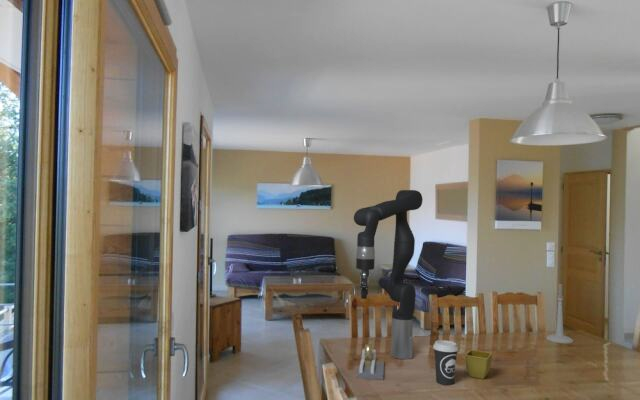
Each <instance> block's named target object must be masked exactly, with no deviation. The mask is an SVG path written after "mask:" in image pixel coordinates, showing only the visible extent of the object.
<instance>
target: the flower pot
mask: <svg viewBox="0 0 640 400" xmlns="http://www.w3.org/2000/svg"><path fill="white" fill-rule="evenodd" d="M464 357H465V358H464V361H465V365H466V366H465V367H466V370H467V372H468V374H469V376H470V377H472V378H476V379H480V380H481V379H482V380H483V379H485V378H486V377H487V375H488V373H490V372H489V371H490V369H491V366H492V365H491V364H492V359H493V353H492V352H486V351H481V350H475V349H470V350H469V351H468V352H466V354H465V355H464Z"/></svg>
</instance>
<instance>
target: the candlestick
mask: <svg viewBox="0 0 640 400" xmlns="http://www.w3.org/2000/svg"><path fill="white" fill-rule="evenodd" d="M557 286H558V287H557V295H556V298H557V301H558V302H557V313H556V327H555V328H556V329H555V334H554V333H553V334H549V335H547V336H546V337H545V338H546V340H547V341H549V342H553V343H557V344H558V343H559V344H573V343H574V340H573V338H571V337H570V336H567V335H565V334H564V315H563V300H564V296H563V283H558V284H557Z"/></svg>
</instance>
